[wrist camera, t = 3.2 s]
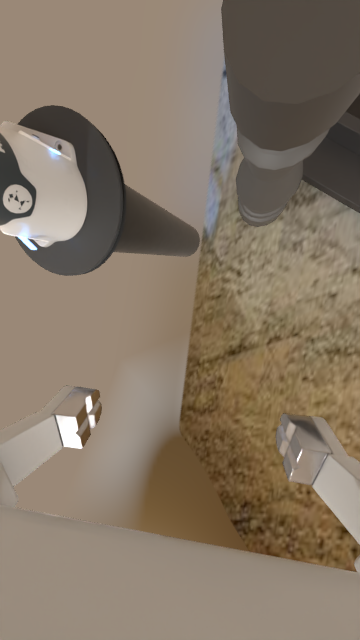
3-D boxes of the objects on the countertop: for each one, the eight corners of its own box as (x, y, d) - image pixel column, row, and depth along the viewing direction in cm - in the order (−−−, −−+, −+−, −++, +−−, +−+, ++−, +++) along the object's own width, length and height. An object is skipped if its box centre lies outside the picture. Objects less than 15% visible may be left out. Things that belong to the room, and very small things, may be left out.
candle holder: (280, 226, 29) (409, 99, 6) (236, 226, 31) (205, 125, 8) (290, 176, 27) (524, -278, 4) (242, 178, 29) (224, -139, 6)
